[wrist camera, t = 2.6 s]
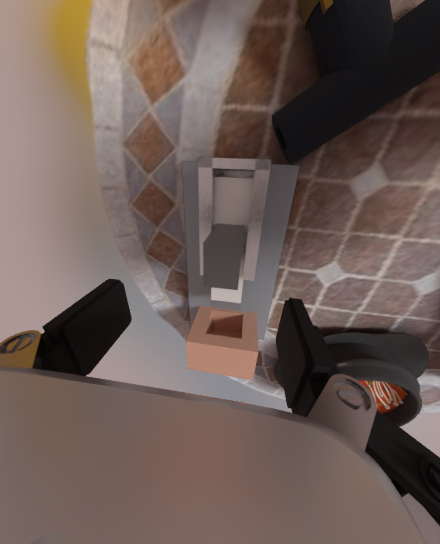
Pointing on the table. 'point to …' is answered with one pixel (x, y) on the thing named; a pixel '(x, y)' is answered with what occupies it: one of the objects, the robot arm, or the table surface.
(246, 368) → the socket block
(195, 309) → the base board
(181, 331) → the table surface
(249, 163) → the outer sleeve
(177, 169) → the table surface
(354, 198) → the table surface
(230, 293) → the sliding latch bolt
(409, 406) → the casserole
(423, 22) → the pipe connector
